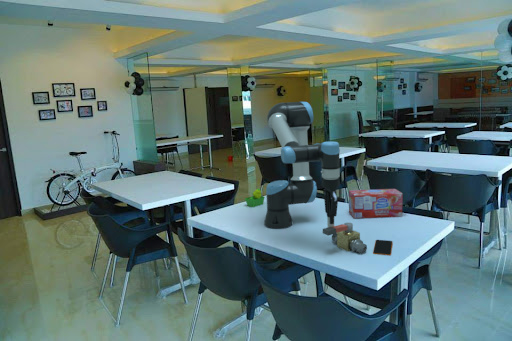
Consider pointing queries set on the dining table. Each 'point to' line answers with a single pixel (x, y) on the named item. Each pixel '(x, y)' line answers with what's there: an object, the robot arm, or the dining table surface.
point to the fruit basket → (255, 199)
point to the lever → (339, 229)
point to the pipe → (349, 241)
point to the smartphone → (383, 247)
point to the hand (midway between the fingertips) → (330, 230)
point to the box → (375, 203)
